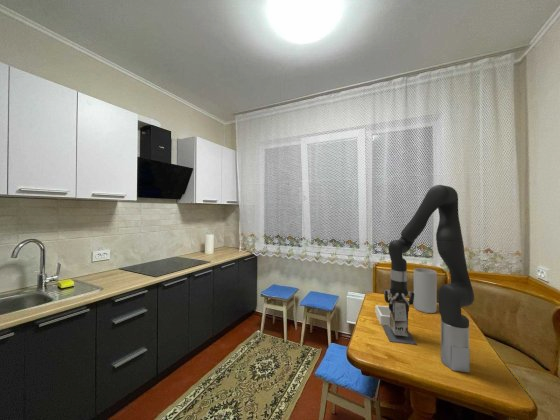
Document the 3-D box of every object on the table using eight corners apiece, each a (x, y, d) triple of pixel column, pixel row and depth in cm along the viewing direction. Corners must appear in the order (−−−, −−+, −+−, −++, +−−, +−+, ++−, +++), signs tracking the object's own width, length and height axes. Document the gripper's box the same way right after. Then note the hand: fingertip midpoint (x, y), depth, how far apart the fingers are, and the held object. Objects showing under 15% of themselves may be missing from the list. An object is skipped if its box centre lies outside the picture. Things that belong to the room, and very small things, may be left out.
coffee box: (408, 336, 110) (408, 303, 110) (394, 335, 111) (394, 302, 111) (402, 327, 119) (402, 296, 119) (389, 326, 120) (389, 295, 120)
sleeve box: (402, 326, 123) (402, 317, 123) (380, 324, 125) (380, 315, 125) (394, 315, 137) (394, 307, 137) (375, 313, 139) (375, 305, 139)
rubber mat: (417, 344, 107) (417, 344, 107) (389, 341, 109) (389, 340, 109) (406, 328, 121) (406, 327, 121) (382, 326, 124) (382, 325, 124)
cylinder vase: (433, 306, 149) (433, 269, 149) (439, 315, 137) (439, 274, 137) (411, 304, 153) (411, 267, 153) (415, 311, 142) (416, 272, 142)
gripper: (385, 280, 113) (385, 313, 113) (417, 282, 110) (417, 316, 110) (382, 275, 120) (381, 307, 120) (411, 277, 117) (411, 309, 117)
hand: (398, 311), depth 115 cm, fingers closed on coffee box, 6 cm apart
